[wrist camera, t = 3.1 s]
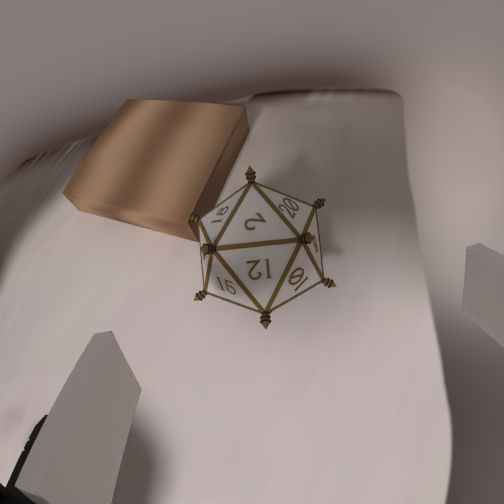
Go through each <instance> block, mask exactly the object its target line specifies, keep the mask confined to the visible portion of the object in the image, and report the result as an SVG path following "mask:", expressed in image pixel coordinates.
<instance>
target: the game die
mask: <svg viewBox="0 0 504 504" xmlns="http://www.w3.org/2000/svg"><path fill="white" fill-rule="evenodd" d="M255 173H256V172H254V171H253V170H252V168H251V167H250V166H249V168H248V170H247V172H246V173H245V175H246V179H247V180H248V183H247V184H246V185H245V186H243V187H242V188H240V189H239V190H238V191H236V192H235V193H234V194H232V195H231V196H229V197H228V198H227V199H225V200H224V201H223V202H221V203H220V204H219V205H217V206H216V207H214V208H213V209H212V210H210V211H209V212H208V213H206V214H205V215H204V216H202V217H199V216H198V214H194V212H193V213H191V214H186V215H187V216H188V218H189V220H190V221H193V222H198V230H199V242H200V254H201V265H202V276H203V286H204V290H203V291H199V293H196V296H195V299H194V301H196V300H201V301H202V299H203V298H205V296H206V295H207V294H209V295H212V296H214V297H217V298H220V299H222V300H225V301H228V302H231V303H233V304H236V305H239V306H242V307H244V308H247V309H250V310H253V311H255V312H258V313H261V314H262V316H261V317H260V319H261V321H260V323H261V324H262V325H263V326H264V327H265V328H266V329H267V327H268V325H269V324H270V323H271V320H270V318H271V316H269V314H270V313H271V312H272V311H273V310H275V309H277V308H279V307H280V306H282V305H284V304H286V303H287V302H289V301H291V300H292V299H294V298H296V297H298V296H299V295H301V294H303V293H304V292H306V291H308V290H309V289H311V288H313V287H315V286H316V285H318V284H320V283H323V284H324V285H325V286H327V287H328V288H329V287H335V286H336V285H335V283H334V282H333V280H332V279H331V280H330V278H324V273H323V263H322V254H321V245H320V236H319V228H318V220H317V213H316V209H318V208H319V209H320V208H321V206H324V202H325V200H326V199H318V200H317V201H315V203H314V205H311V204H308V203H306V202H303V201H301V200H299V199H296V198H294V197H291V196H289V195H286V194H284V193H281V192H279V191H276V190H274V189H271V188H269V187H266V186H264V185H261V184H259V183H256V182H255V178H256V176H255Z"/></svg>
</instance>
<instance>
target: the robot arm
mask: <svg viewBox="0 0 504 504" xmlns="http://www.w3.org/2000/svg"><path fill="white" fill-rule="evenodd" d="M461 310H462V311H463V312H465V313H466V314H467V315H468V316H469V317H470V318H471V319H473V320H474V321H475V322H476V323H477V324H478V325H479V326H481V327H482V328H483V329H484V330H485V331H486V332H488V334H489V335H491V336H492V337H493V338H494V339H495V340H496V341H497V342H498V343H499V344H500V345H501V346H503V348H504V256H503V255H501V254H499V253H498V252H496V251H494V250H492V249H490V248H488V247H486V246H484V245H482V244H481V243H479V244H476V245H473V246H469V247H467V248H466V266H465V280H464V291H463V301H462V309H461ZM140 392H141V387H140V385H139V383H138V382H137V380H136V378H135V376H134V374H133V372H132V370H131V368H130V367H129V365H128V363H127V361H126V359H125V357H124V355H123V353H122V351H121V349H120V347H119V345H118V343H117V341H116V338H115V336H114V334H113V332H112V331H109V332H103V333H97V334H94V335H93V337H92V338H91V340H90V342H89V343H88V345H87V347H86V348H85V350H84V352H83V353H82V355H81V357H80V359H79V360H78V362H77V364H76V365H75V367H74V369H73V371H72V372H71V374H70V376H69V378H68V379H67V381H66V383H65V385H64V386H63V388H62V390H61V392H60V394H59V396H58V397H57V399H56V401H55V403H54V405H53V407H52V409H51V411H50V412H49V414H48V415H45V416H44V417H43V418H42V419H41V420H40V421H39V423H38V424H37V425H36V426H35V428H34V429H33V431H32V433H31V435H30V437H29V441H27V443H26V445H25V447H24V449H25V450H24V451H22V453H21V455H20V457H19V460H18V462H17V464H16V466H15V468H14V470H13V472H12V475H11V477H10V479H9V481H8V483H7V485H6V487H4V486H3V485H2V484H1V483H0V504H111V503H112V498H113V494H114V490H115V486H116V481H117V477H118V473H119V469H120V465H121V461H122V457H123V453H124V450H125V446H126V442H127V438H128V435H129V431H130V427H131V424H132V420H133V417H134V413H135V410H136V406H137V403H138V399H139V396H140Z"/></svg>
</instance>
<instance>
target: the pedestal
mask: <svg viewBox="0 0 504 504" xmlns="http://www.w3.org/2000/svg"><path fill="white" fill-rule="evenodd" d="M248 132H249V127H248V120H247V114H246V107H243V106H234V105H224V104H214V103H201V102H187V101H167V100H166V101H165V100H127V101H126V102H125V103H124V105H123V106H122V107H121V108H120V110H119V111H118V112H117V113H116V115H115V116H114V117H113V119H112V120H111V121H110V123H109V124H108V125H107V127H106V128H105V129H104V131H103V132H102V133H101V135H100V136H99V137H98V139H97V140H96V142H95V143H94V144H93V146H92V147H91V149H90V150H89V152H88V153H87V155H86V156H85V158H84V159H83V161H82V162H81V164H80V165H79V167H78V168H77V170H76V171H75V173H74V175H73V176H72V178H71V179H70V181H69V183H68V184H67V186H66V188H65V189H64V191H63V194H64V195H65V196H66V197H67V199H68V200H69V201H70V202H71V203H72V204H73V205H74V206H75V207H76V208H77V209H78V210H80V211H83V212H87V213H91V214H95V215H98V216H102V217H106V218H109V219H113V220H117V221H121V222H124V223H128V224H132V225H136V226H139V227H143V228H147V229H151V230H154V231H158V232H162V233H166V234H170V235H173V236H177V237H181V238H185V239H188V240H192V241H196V242H199V230H198V222H193V221H190V220H189V218H188V216H187V215H186V214H191V213H193V212H194V214H198V216H199V217H202V216H204V215H205V214H206V213H208V212H209V211H210V210H212V209H213V208H214V206H215V203H216V201H217V199H218V197H219V194H220V192H221V190H222V188H223V185H224V183H225V181H226V179H227V177H228V175H229V172H230V170H231V168H232V166H233V164H234V162H235V159H236V157H237V155H238V153H239V151H240V149H241V147H242V145H243V142H244V140H245V138H246V136H247V134H248Z"/></svg>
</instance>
